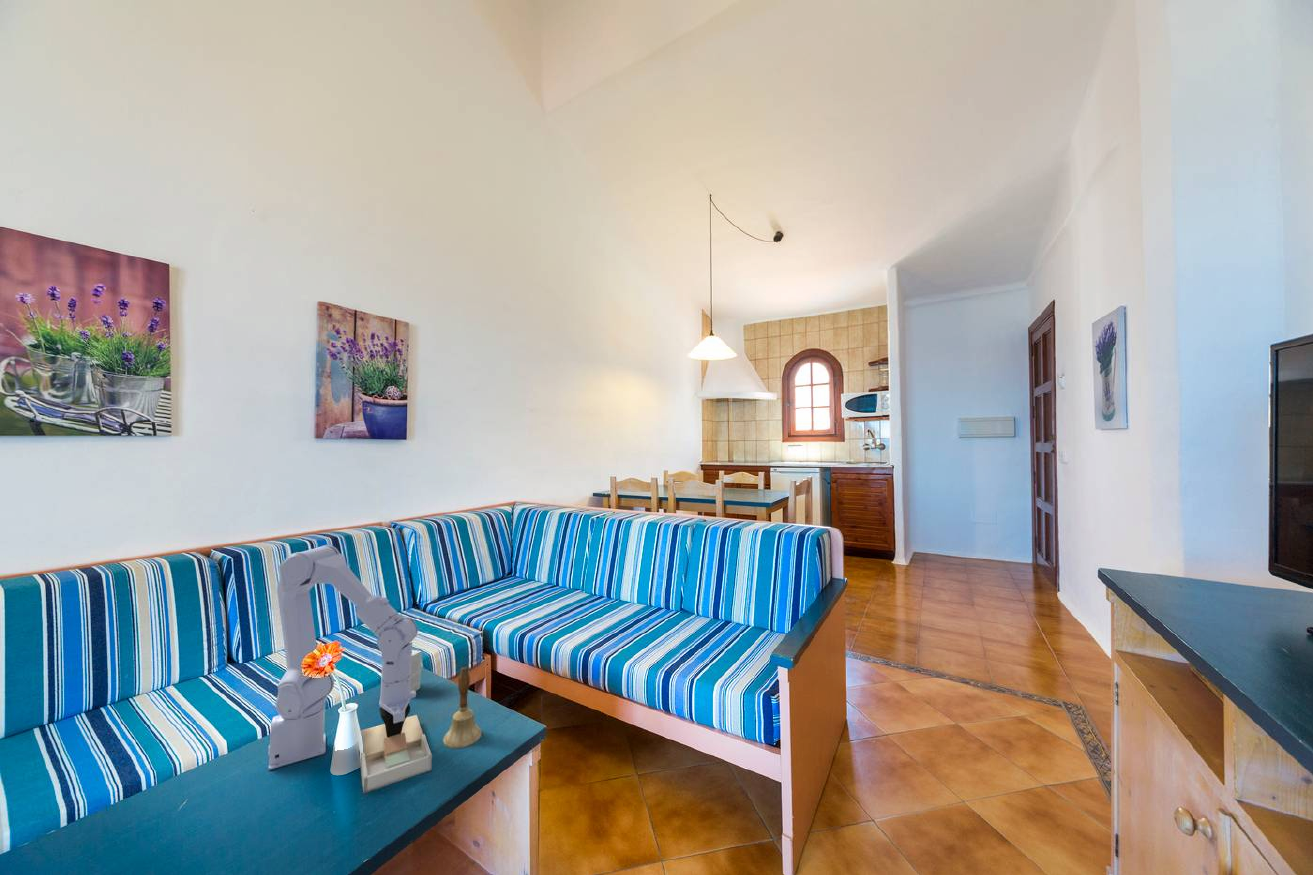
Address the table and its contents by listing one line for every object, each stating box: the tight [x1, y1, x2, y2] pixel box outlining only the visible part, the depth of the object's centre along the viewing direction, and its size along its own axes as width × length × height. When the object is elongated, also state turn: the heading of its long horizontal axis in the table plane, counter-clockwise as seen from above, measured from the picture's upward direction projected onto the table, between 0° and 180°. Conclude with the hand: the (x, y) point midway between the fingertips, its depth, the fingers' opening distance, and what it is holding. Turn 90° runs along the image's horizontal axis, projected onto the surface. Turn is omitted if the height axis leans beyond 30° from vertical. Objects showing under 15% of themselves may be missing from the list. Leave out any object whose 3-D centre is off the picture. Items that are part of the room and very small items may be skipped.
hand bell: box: [442, 666, 483, 749], centre depth 106 cm, size 8×8×16 cm
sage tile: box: [385, 749, 410, 770], centre depth 94 cm, size 4×4×2 cm
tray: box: [360, 733, 433, 794], centre depth 95 cm, size 12×9×3 cm
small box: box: [410, 649, 423, 692], centre depth 126 cm, size 8×6×10 cm
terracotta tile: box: [383, 732, 407, 764], centre depth 98 cm, size 4×4×2 cm
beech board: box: [360, 714, 424, 763], centre depth 103 cm, size 12×11×2 cm
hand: (393, 740), depth 100 cm, fingers closed
